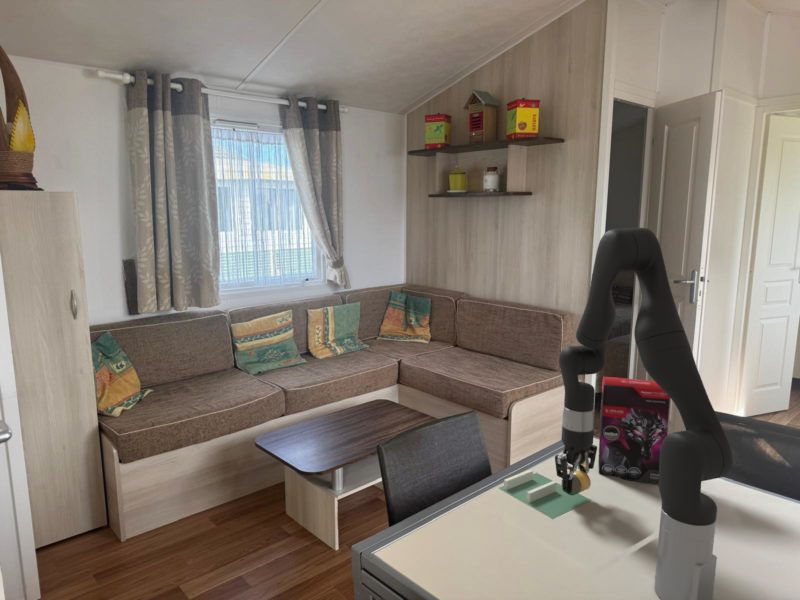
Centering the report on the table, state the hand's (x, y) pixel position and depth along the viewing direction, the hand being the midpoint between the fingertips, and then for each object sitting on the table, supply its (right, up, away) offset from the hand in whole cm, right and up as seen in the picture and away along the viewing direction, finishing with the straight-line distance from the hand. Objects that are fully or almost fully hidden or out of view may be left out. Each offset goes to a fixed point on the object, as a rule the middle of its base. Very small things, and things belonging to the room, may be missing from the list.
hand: (574, 488), depth 142 cm
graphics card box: (+20, -2, +15) cm, 25 cm away
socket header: (-10, -3, +5) cm, 12 cm away
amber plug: (0, -1, 0) cm, 1 cm away
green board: (-7, -3, +3) cm, 8 cm away
